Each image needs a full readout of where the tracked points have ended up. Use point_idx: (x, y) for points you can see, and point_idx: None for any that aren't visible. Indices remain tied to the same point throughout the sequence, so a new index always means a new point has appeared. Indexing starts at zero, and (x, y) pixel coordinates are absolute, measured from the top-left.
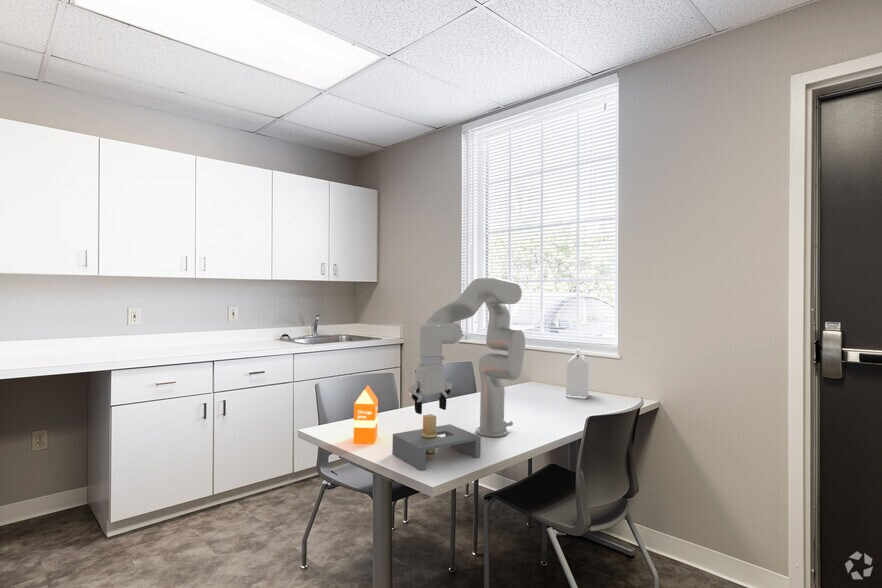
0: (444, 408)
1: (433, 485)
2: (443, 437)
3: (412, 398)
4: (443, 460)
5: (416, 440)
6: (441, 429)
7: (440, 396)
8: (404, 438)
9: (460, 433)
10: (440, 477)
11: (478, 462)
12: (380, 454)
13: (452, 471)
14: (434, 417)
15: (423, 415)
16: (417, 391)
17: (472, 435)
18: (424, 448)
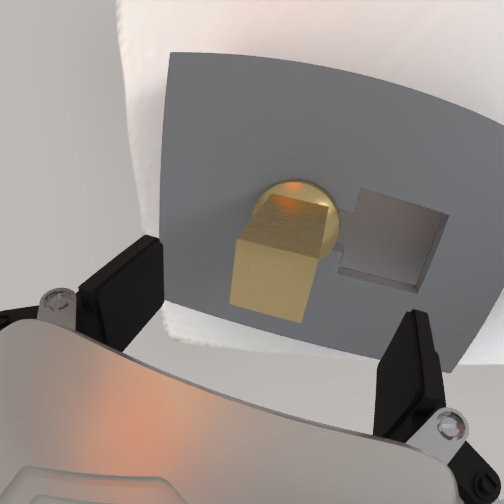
0: (379, 375)
1: (173, 334)
2: (341, 281)
3: (27, 316)
4: None
5: (202, 219)
6: (454, 179)
7: (436, 399)
8: (173, 155)
9: (451, 298)
10: (215, 323)
11: None
12: (179, 35)
13: None
14: (286, 314)
15: (237, 242)
16: (43, 331)
17: (450, 347)
18: (177, 302)
